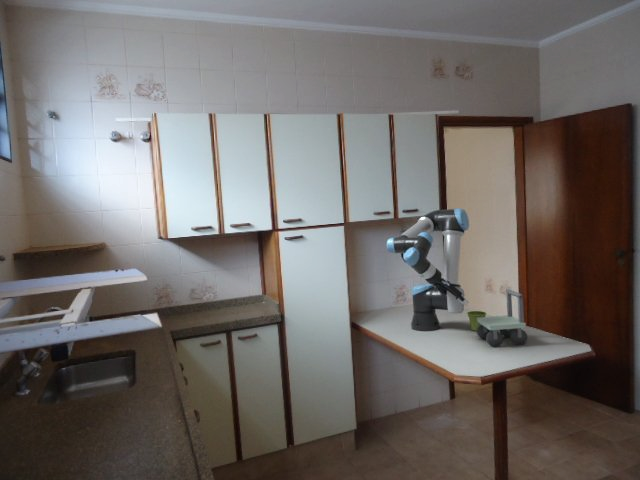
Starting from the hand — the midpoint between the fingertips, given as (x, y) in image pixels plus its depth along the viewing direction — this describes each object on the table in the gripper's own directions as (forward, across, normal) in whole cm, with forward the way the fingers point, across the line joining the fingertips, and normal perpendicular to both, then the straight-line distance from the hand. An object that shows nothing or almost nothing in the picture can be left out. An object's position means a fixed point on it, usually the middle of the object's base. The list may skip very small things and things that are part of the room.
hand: (461, 302), depth 220 cm
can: (+1, 0, -6) cm, 6 cm away
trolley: (+20, +13, -5) cm, 25 cm away
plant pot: (+24, -10, -2) cm, 26 cm away
